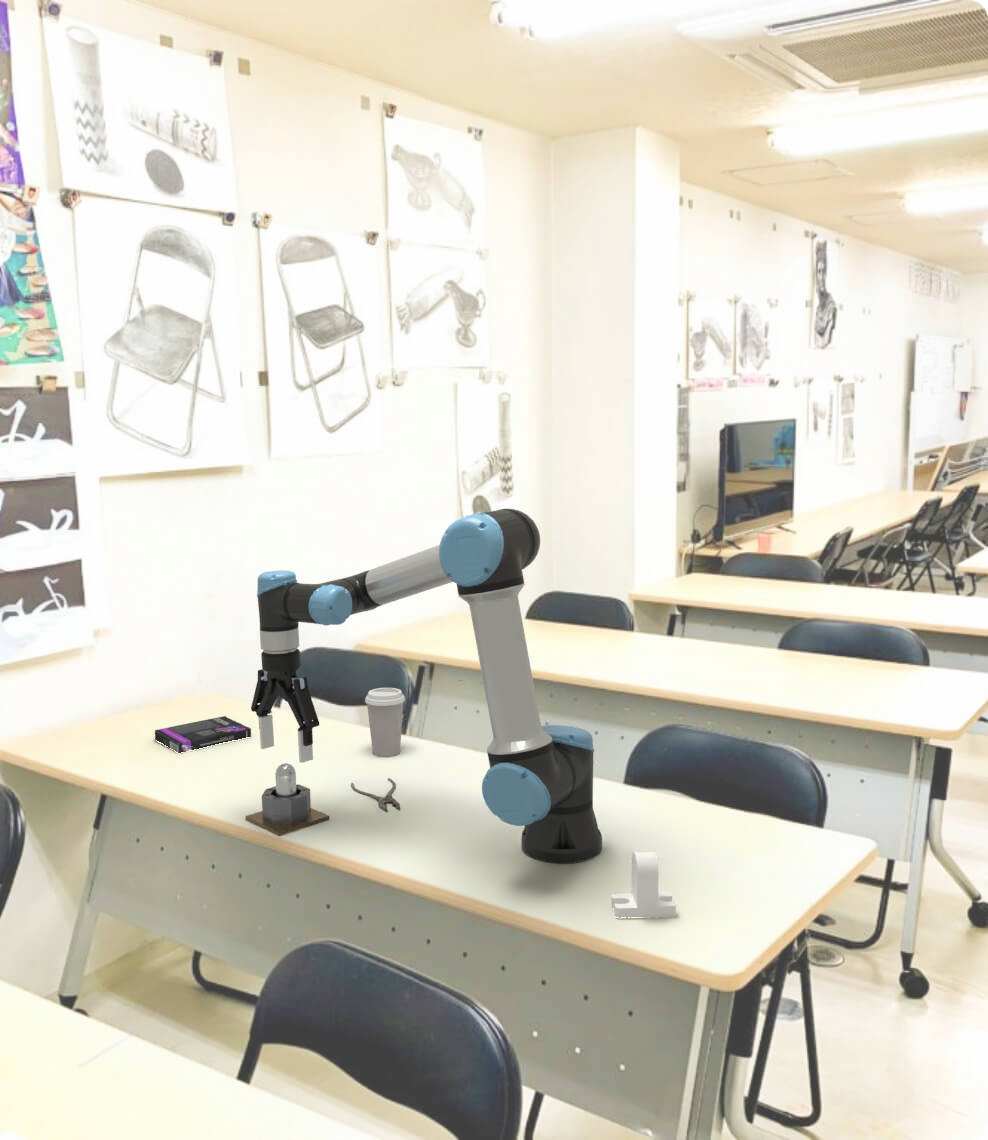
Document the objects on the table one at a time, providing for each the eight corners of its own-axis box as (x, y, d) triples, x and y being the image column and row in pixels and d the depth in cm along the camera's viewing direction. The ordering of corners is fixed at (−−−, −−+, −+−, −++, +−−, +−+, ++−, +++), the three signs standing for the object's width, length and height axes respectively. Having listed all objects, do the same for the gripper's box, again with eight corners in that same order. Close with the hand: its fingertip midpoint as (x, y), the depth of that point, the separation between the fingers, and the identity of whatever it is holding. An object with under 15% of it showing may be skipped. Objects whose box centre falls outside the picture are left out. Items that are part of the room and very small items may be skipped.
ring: (318, 815, 223) (317, 792, 223) (280, 828, 217) (279, 803, 216) (293, 804, 230) (292, 781, 229) (255, 816, 224) (254, 792, 223)
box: (178, 757, 266) (252, 739, 279) (177, 743, 266) (251, 726, 278) (154, 743, 277) (226, 726, 289) (153, 730, 276) (225, 713, 289)
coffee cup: (414, 750, 267) (413, 689, 265) (390, 761, 259) (388, 699, 257) (383, 744, 272) (381, 684, 270) (358, 755, 264) (356, 693, 262)
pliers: (386, 775, 248) (428, 801, 232) (386, 778, 249) (428, 805, 232) (346, 783, 243) (387, 811, 227) (346, 787, 244) (387, 815, 227)
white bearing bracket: (676, 917, 180) (677, 859, 179) (615, 919, 180) (616, 860, 178) (669, 902, 185) (670, 845, 184) (610, 904, 185) (611, 847, 183)
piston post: (329, 819, 224) (327, 763, 222) (279, 836, 215) (276, 778, 214) (295, 804, 232) (293, 750, 230) (245, 819, 224) (242, 764, 222)
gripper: (333, 654, 212) (339, 762, 215) (261, 638, 230) (267, 737, 233) (301, 661, 207) (307, 771, 210) (230, 644, 225) (236, 746, 228)
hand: (286, 754), depth 221 cm, fingers open, 13 cm apart
